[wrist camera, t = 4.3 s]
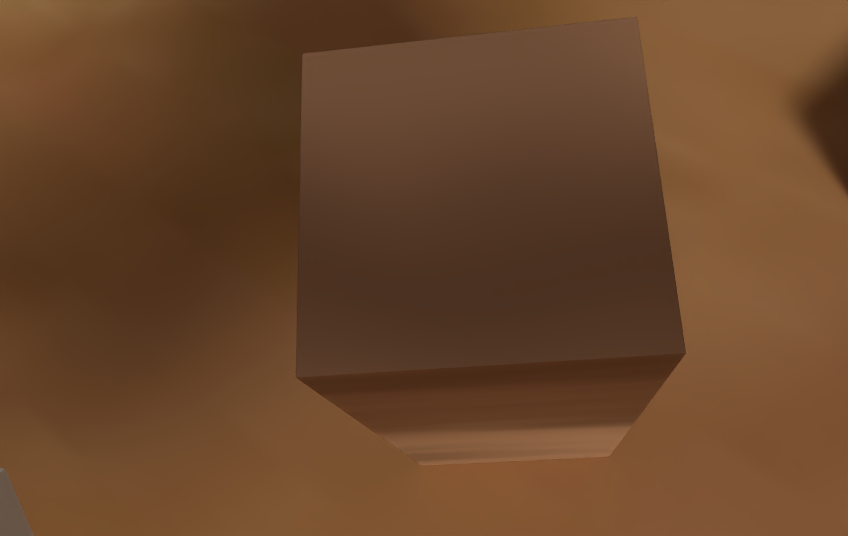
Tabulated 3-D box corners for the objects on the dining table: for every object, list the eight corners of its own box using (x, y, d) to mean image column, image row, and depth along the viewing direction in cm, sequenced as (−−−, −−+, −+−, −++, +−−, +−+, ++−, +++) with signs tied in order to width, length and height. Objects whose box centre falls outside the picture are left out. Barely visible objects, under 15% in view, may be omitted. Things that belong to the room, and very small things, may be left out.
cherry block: (416, 289, 24) (302, 53, 12) (589, 277, 23) (637, 16, 12) (421, 465, 22) (295, 377, 11) (608, 456, 21) (685, 353, 10)
